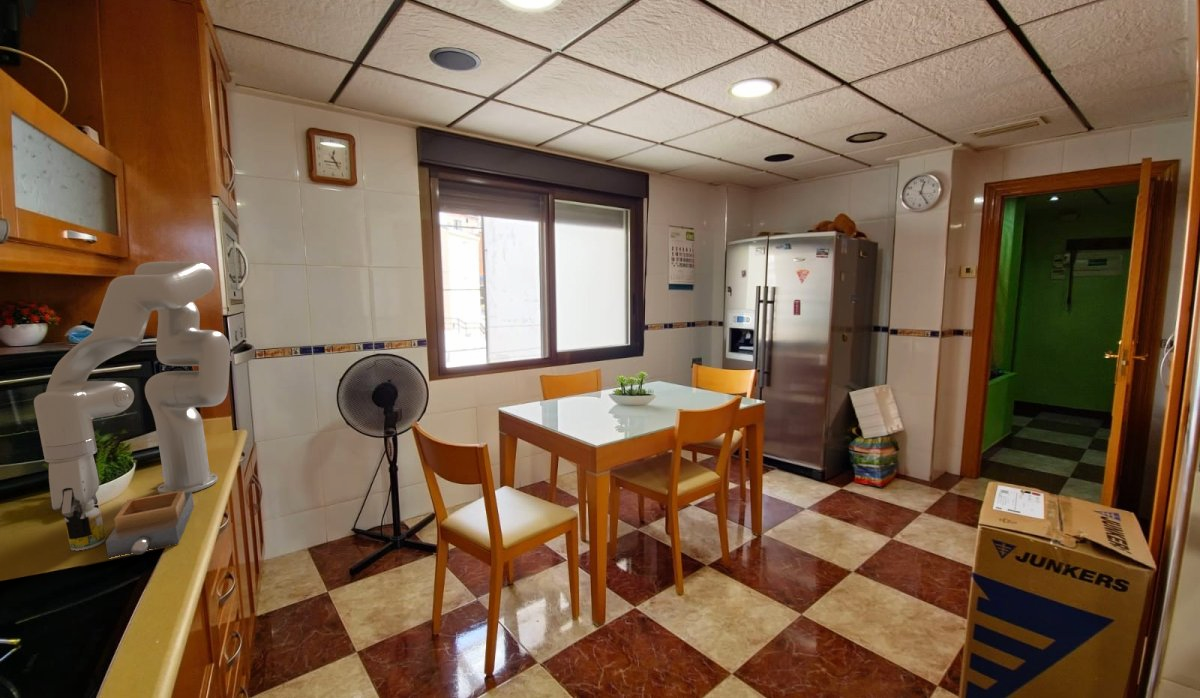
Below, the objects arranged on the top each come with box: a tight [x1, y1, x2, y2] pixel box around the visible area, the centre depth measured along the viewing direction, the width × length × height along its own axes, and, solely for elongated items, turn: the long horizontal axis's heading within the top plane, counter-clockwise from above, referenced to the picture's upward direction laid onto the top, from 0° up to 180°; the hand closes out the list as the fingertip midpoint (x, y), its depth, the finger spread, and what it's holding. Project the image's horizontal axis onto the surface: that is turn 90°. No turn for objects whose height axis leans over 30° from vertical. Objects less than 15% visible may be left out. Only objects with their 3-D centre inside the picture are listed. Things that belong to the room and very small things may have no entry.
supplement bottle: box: [64, 499, 107, 552], centre depth 106 cm, size 5×5×10 cm
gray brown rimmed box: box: [105, 490, 195, 558], centre depth 111 cm, size 23×11×6 cm, turn 31°
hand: (85, 529), depth 106 cm, fingers closed on supplement bottle, 5 cm apart
